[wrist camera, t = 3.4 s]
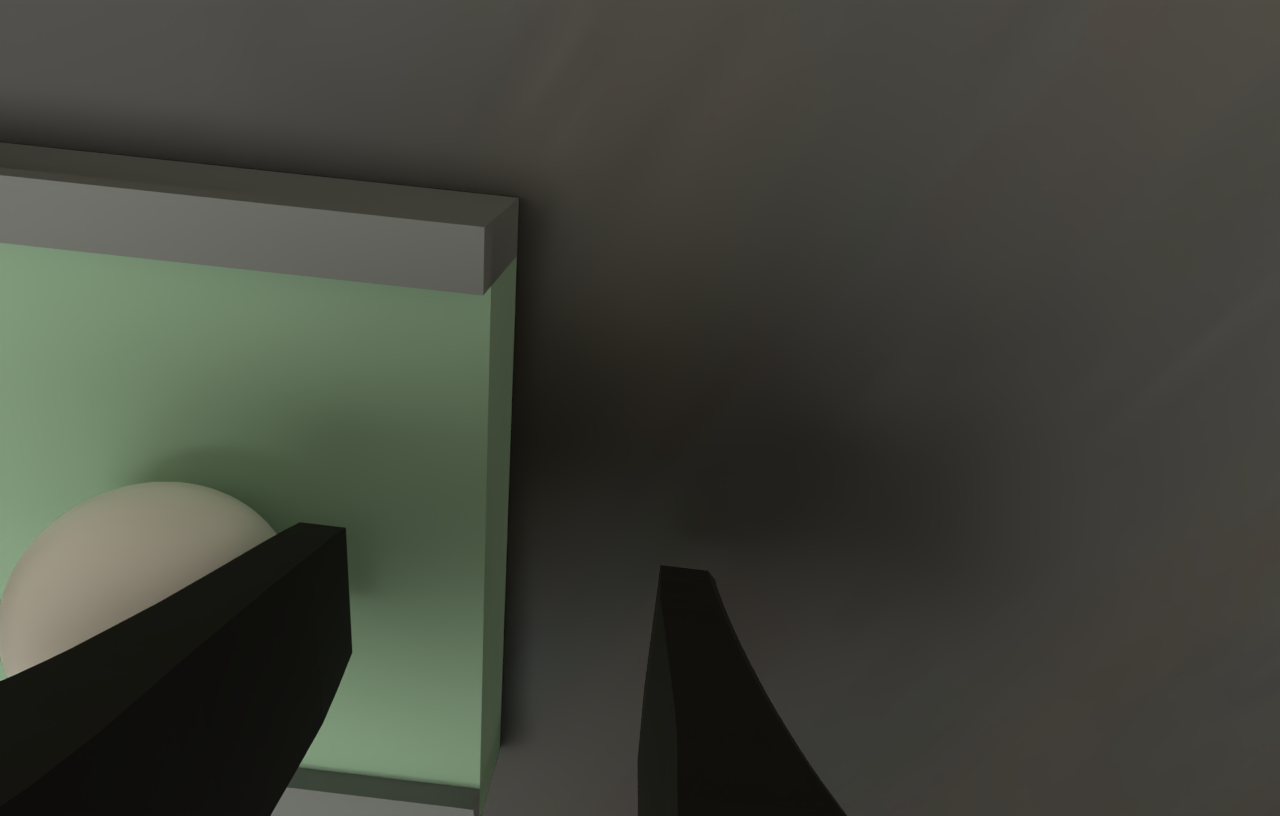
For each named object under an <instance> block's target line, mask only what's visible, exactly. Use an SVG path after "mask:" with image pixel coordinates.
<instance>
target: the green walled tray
mask: <svg viewBox="0 0 1280 816" xmlns="http://www.w3.org/2000/svg"><path fill="white" fill-rule="evenodd" d="M518 211H519V198H517V197H507V196H498V195H488V194H479V193H470V192H460V191H451V190H442V189H432V188H423V187H414V186H404V185H395V184H386V183H376V182H367V181H357V180H348V179H339V178H329V177H320V176H311V175H301V174H292V173H283V172H273V171H264V170H254V169H245V168H236V167H226V166H217V165H208V164H198V163H189V162H180V161H170V160H161V159H151V158H142V157H133V156H123V155H114V154H105V153H95V152H86V151H77V150H67V149H58V148H49V147H39V146H30V145H20V144H11V143H2V142H0V602H1V599H2V596H3V592H4V590H5V587H6V584H7V582H8V579H9V577H10V575H11V573H12V571H13V569H14V568H15V566H16V564H17V562H18V561H19V559H20V557H21V556H22V554H23V553H24V552H25V551H26V549H27V548H28V547H29V546H30V545H31V543H32V542H33V541H34V540H35V539H36V537H37V536H38V535H39V534H40V533H41V532H42V531H43V530H44V529H46V528H47V527H48V526H49V525H50V524H51V523H52V522H54V521H55V520H56V519H57V518H59V517H60V516H61V515H62V514H64V513H66V512H67V511H69V510H70V509H72V508H73V507H75V506H77V505H78V504H80V503H82V502H84V501H86V500H88V499H90V498H92V497H95V496H97V495H99V494H101V493H104V492H108V491H111V490H114V489H117V488H121V487H124V486H127V485H134V484H141V483H148V482H184V483H191V484H196V485H201V486H205V487H209V488H213V489H215V490H218V491H221V492H223V493H225V494H228V495H230V496H232V497H234V498H236V499H238V500H239V501H241V502H243V503H244V504H246V505H247V506H249V507H250V508H252V509H253V510H254V511H255V512H257V513H258V514H259V515H260V516H261V517H262V518H263V519H264V520H265V521H266V522H267V523H268V524H269V525H270V526H271V527H272V529H273V530H274V531H275V532H276V534H278V533H280V532H282V531H284V530H285V529H287V528H289V527H291V526H293V525H295V524H297V523H299V522H303V523H311V524H319V525H328V526H336V527H344V528H346V539H347V558H348V577H349V596H350V615H351V635H352V655H351V657H350V660H349V662H348V665H347V667H346V670H345V672H344V675H343V677H342V680H341V682H340V685H339V687H338V690H337V692H336V695H335V697H334V699H333V702H332V704H331V706H330V709H329V711H328V713H327V716H326V718H325V720H324V722H323V724H322V726H321V728H320V730H319V732H318V733H317V735H316V737H315V739H314V741H313V742H312V744H311V746H310V748H309V749H308V751H307V753H306V755H305V756H304V758H303V760H302V762H301V764H300V765H299V767H298V769H297V771H296V772H295V774H294V776H293V778H292V779H291V781H290V783H289V785H288V786H287V788H286V790H285V792H284V793H283V795H282V797H281V798H280V800H279V802H278V804H277V805H276V807H275V809H274V811H273V812H272V814H271V816H481V815H482V812H483V808H484V804H485V801H486V797H487V794H488V790H489V786H490V783H491V779H492V776H493V772H494V768H495V765H496V761H497V758H498V754H499V750H500V729H501V700H502V671H503V643H504V614H505V585H506V556H507V527H508V499H509V470H510V441H511V412H512V383H513V355H514V326H515V297H516V268H517V239H518ZM6 678H8V677H7V675H6V672H5V670H4V667H3V664H2V661H1V658H0V681H2V680H4V679H6Z"/></svg>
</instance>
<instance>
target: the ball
mask: <svg viewBox="0 0 1280 816" xmlns="http://www.w3.org/2000/svg"><path fill="white" fill-rule="evenodd" d="M275 535H276V532H275V531H274V530H273V529H272V527H271V526H270V525H269V524H268V523H267V522H266V521H265V520H264V519H263V518H262V517H261V516H260V515H259V514H258V513H257V512H255V511H254V510H253V509H252V508H250V507H249V506H247V505H246V504H244V503H243V502H241V501H239V500H238V499H236V498H234V497H232V496H230V495H228V494H225V493H223V492H221V491H218V490H215V489H213V488H209V487H205V486H201V485H196V484H191V483H184V482H148V483H141V484H134V485H127V486H124V487H121V488H117V489H114V490H111V491H108V492H104V493H101V494H99V495H97V496H95V497H92V498H90V499H88V500H86V501H84V502H82V503H80V504H78V505H77V506H75V507H73V508H72V509H70V510H69V511H67V512H66V513H64V514H62V515H61V516H60V517H59V518H57V519H56V520H55V521H54V522H52V523H51V524H50V525H49V526H48V527H47V528H46V529H44V530H43V531H42V532H41V533H40V534H39V535H38V536H37V537H36V539H35V540H34V541H33V542H32V543H31V545H30V546H29V547H28V548H27V549H26V551H25V552H24V553H23V554H22V556H21V557H20V559H19V561H18V562H17V564H16V566H15V568H14V569H13V571H12V573H11V575H10V577H9V579H8V582H7V584H6V587H5V590H4V592H3V596H2V599H1V602H0V658H1V661H2V664H3V667H4V670H5V672H6V675H7V677H8V678H9V677H11V676H13V675H15V674H18V673H20V672H22V671H24V670H27V669H29V668H31V667H33V666H35V665H37V664H39V663H42V662H44V661H46V660H48V659H50V658H52V657H54V656H56V655H58V654H60V653H62V652H65V651H67V650H69V649H71V648H73V647H75V646H77V645H78V644H80V643H82V642H84V641H86V640H88V639H90V638H92V637H94V636H96V635H98V634H99V633H101V632H103V631H105V630H107V629H109V628H111V627H113V626H115V625H117V624H118V623H120V622H122V621H124V620H126V619H128V618H130V617H132V616H134V615H136V614H138V613H139V612H141V611H143V610H145V609H147V608H149V607H151V606H153V605H155V604H157V603H158V602H160V601H162V600H164V599H165V598H167V597H169V596H171V595H172V594H174V593H176V592H178V591H179V590H181V589H183V588H185V587H186V586H188V585H190V584H192V583H193V582H195V581H197V580H199V579H200V578H202V577H204V576H206V575H207V574H209V573H211V572H213V571H214V570H216V569H218V568H220V567H221V566H223V565H225V564H226V563H228V562H230V561H231V560H233V559H235V558H237V557H238V556H240V555H242V554H243V553H245V552H247V551H249V550H250V549H252V548H254V547H255V546H257V545H259V544H261V543H262V542H264V541H266V540H268V539H269V538H271V537H273V536H275Z"/></svg>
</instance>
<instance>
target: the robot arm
mask: <svg viewBox="0 0 1280 816" xmlns="http://www.w3.org/2000/svg"><path fill="white" fill-rule="evenodd" d="M351 655H352V635H351V615H350V596H349V577H348V558H347V539H346V528H344V527H336V526H328V525H319V524H311V523H303V522H299V523H297V524H295V525H293V526H291V527H289V528H287V529H285V530H284V531H282V532H280V533H278V534H276V535H275V536H273V537H271V538H269V539H268V540H266V541H264V542H262V543H261V544H259V545H257V546H255V547H254V548H252V549H250V550H249V551H247V552H245V553H243V554H242V555H240V556H238V557H237V558H235V559H233V560H231V561H230V562H228V563H226V564H225V565H223V566H221V567H220V568H218V569H216V570H214V571H213V572H211V573H209V574H207V575H206V576H204V577H202V578H200V579H199V580H197V581H195V582H193V583H192V584H190V585H188V586H186V587H185V588H183V589H181V590H179V591H178V592H176V593H174V594H172V595H171V596H169V597H167V598H165V599H164V600H162V601H160V602H158V603H157V604H155V605H153V606H151V607H149V608H147V609H145V610H143V611H141V612H139V613H138V614H136V615H134V616H132V617H130V618H128V619H126V620H124V621H122V622H120V623H118V624H117V625H115V626H113V627H111V628H109V629H107V630H105V631H103V632H101V633H99V634H98V635H96V636H94V637H92V638H90V639H88V640H86V641H84V642H82V643H80V644H78V645H77V646H75V647H73V648H71V649H69V650H67V651H65V652H62V653H60V654H58V655H56V656H54V657H52V658H50V659H48V660H46V661H44V662H42V663H39V664H37V665H35V666H33V667H31V668H29V669H27V670H24V671H22V672H20V673H18V674H15V675H13V676H11V677H9V678H6V679H4V680H2V681H0V816H271V814H272V812H273V811H274V809H275V807H276V805H277V804H278V802H279V800H280V798H281V797H282V795H283V793H284V792H285V790H286V788H287V786H288V785H289V783H290V781H291V779H292V778H293V776H294V774H295V772H296V771H297V769H298V767H299V765H300V764H301V762H302V760H303V758H304V756H305V755H306V753H307V751H308V749H309V748H310V746H311V744H312V742H313V741H314V739H315V737H316V735H317V733H318V732H319V730H320V728H321V726H322V724H323V722H324V720H325V718H326V716H327V713H328V711H329V709H330V706H331V704H332V702H333V699H334V697H335V695H336V692H337V690H338V687H339V685H340V682H341V680H342V677H343V675H344V672H345V670H346V667H347V665H348V662H349V660H350V657H351ZM638 816H847V815H846V814H845V812H844V811H843V810H842V808H841V807H840V806H839V804H838V803H837V802H836V800H835V799H834V797H833V796H832V795H831V793H830V792H829V791H828V789H827V788H826V787H825V785H824V784H823V782H822V781H821V780H820V778H819V777H818V775H817V774H816V772H815V771H814V769H813V768H812V767H811V765H810V764H809V762H808V761H807V759H806V758H805V756H804V755H803V753H802V752H801V750H800V748H799V747H798V745H797V744H796V742H795V741H794V739H793V737H792V736H791V734H790V732H789V731H788V729H787V728H786V726H785V724H784V723H783V721H782V720H781V718H780V716H779V715H778V713H777V711H776V709H775V708H774V706H773V704H772V703H771V701H770V699H769V697H768V696H767V694H766V692H765V690H764V688H763V686H762V684H761V683H760V681H759V679H758V677H757V675H756V673H755V671H754V669H753V667H752V666H751V664H750V662H749V660H748V658H747V656H746V654H745V652H744V650H743V648H742V646H741V644H740V642H739V640H738V637H737V635H736V633H735V631H734V629H733V626H732V624H731V622H730V620H729V617H728V615H727V612H726V610H725V608H724V605H723V603H722V600H721V597H720V594H719V592H718V589H717V586H716V582H715V579H714V578H713V577H712V576H711V574H710V573H709V572H708V571H704V570H695V569H687V568H679V567H670V566H662V565H661V566H660V574H659V581H658V589H657V596H656V604H655V612H654V619H653V627H652V634H651V642H650V649H649V657H648V664H647V672H646V680H645V687H644V697H643V708H642V719H641V730H640V741H639V752H638Z"/></svg>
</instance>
